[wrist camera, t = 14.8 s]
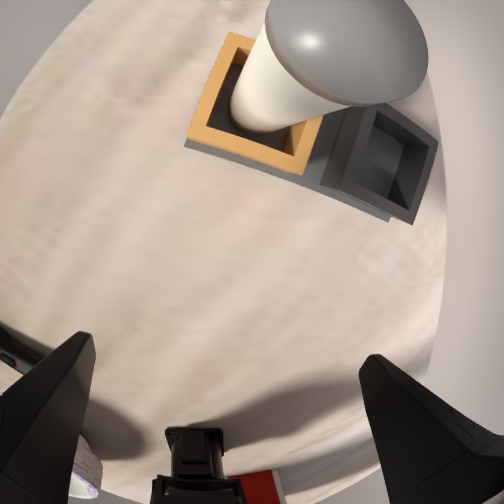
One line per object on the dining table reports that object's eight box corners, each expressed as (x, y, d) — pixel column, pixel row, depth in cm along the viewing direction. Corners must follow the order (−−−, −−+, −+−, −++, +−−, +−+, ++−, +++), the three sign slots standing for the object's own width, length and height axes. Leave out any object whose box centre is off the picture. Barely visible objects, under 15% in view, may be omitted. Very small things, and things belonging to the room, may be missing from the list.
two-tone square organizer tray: (409, 136, 19) (441, 137, 15) (381, 219, 21) (411, 232, 17) (224, 48, 15) (228, 24, 11) (185, 147, 17) (179, 144, 13)
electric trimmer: (-32, 296, 17) (-48, 309, 14) (74, 363, 21) (63, 385, 18) (-29, 321, 18) (-43, 335, 15) (72, 385, 22) (63, 406, 19)
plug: (291, 131, 17) (443, 103, 5) (233, 142, 17) (301, 106, 4) (278, 78, 16) (398, -24, 3) (220, 87, 15) (255, -43, 3)
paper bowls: (127, 460, 28) (122, 506, 20) (56, 456, 27) (46, 492, 19) (60, 392, 22) (38, 445, 15) (-6, 393, 21) (-26, 431, 14)
